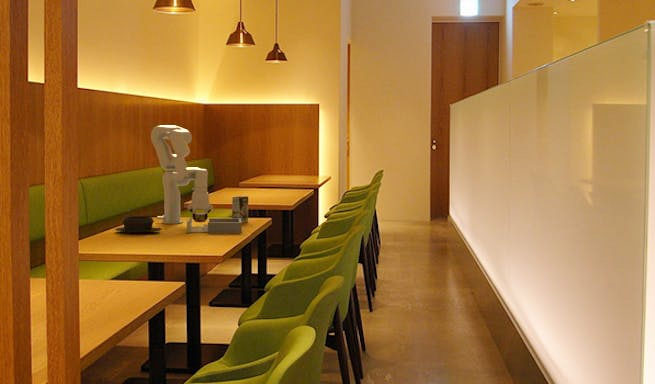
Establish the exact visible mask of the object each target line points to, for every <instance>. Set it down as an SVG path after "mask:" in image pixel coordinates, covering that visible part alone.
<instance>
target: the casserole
mask: <svg viewBox="0 0 655 384" xmlns="http://www.w3.org/2000/svg"><path fill="white" fill-rule="evenodd" d="M154 222H155V221H154V219H153V217H152V216H145V215H144V216H143V215H136V216H135V215H134V216H133V215H132V216H126V217H123V221H122V222H121V223H123V226H122V227H117V228H115V229H114V230H115V231H117V232H118V231H119V232H126V233H128V234H131V235H143V234H148V233H151V232H152V233H153V232H159V231H161V230H162V228H161V227H153V224H154Z"/></svg>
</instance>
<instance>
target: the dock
mask: <svg viewBox="0 0 655 384" xmlns="http://www.w3.org/2000/svg"><path fill="white" fill-rule="evenodd" d="M207 224H208V232H207V234H242V224H243V223H242V222H241V218H232V217H226V218H225V217H224V218H223V217H221V218H220V217H218V218H217V217H212V218H211V217H210V218H208V222H207Z"/></svg>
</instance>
